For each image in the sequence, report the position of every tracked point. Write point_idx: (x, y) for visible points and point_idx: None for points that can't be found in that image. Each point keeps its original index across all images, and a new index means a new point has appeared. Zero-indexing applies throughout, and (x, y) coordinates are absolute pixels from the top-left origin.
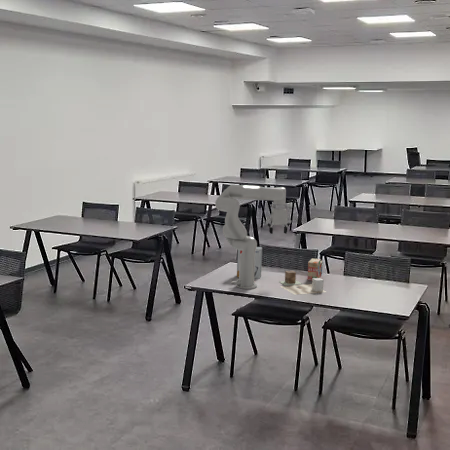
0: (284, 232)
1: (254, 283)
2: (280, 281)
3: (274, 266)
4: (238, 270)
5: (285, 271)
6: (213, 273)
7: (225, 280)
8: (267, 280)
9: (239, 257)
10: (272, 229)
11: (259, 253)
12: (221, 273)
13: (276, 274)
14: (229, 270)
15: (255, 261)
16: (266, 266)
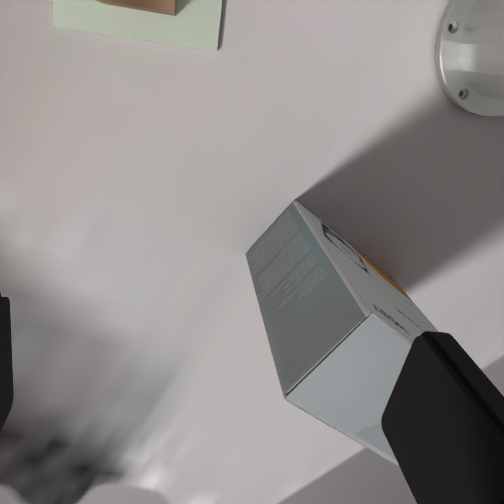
0: (6, 373)
1: (442, 47)
2: (204, 45)
3: (32, 437)
4: (410, 300)
5: (174, 6)
6: None
7: (498, 240)
8: (266, 139)
9: None
10: (499, 419)
11: (362, 293)
12: None
13: (115, 265)
14: None
15: (358, 272)
16: (84, 447)
